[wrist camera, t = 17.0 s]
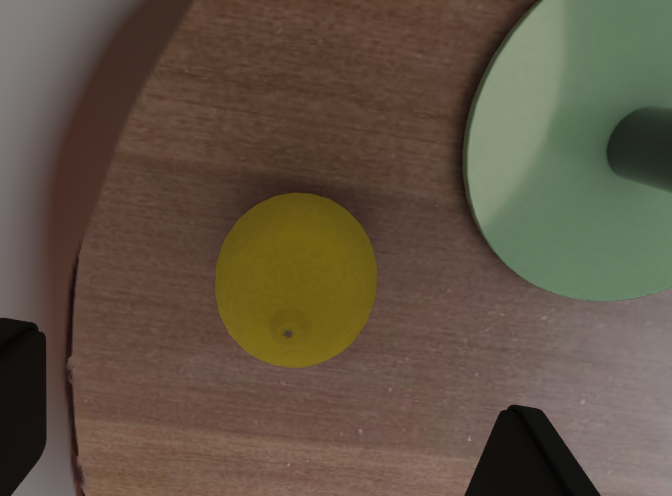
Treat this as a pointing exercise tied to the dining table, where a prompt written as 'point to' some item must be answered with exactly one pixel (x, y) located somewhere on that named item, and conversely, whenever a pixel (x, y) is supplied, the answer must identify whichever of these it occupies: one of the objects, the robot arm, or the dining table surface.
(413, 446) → the dining table surface
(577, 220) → the pot lid
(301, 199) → the lemon
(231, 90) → the dining table surface
